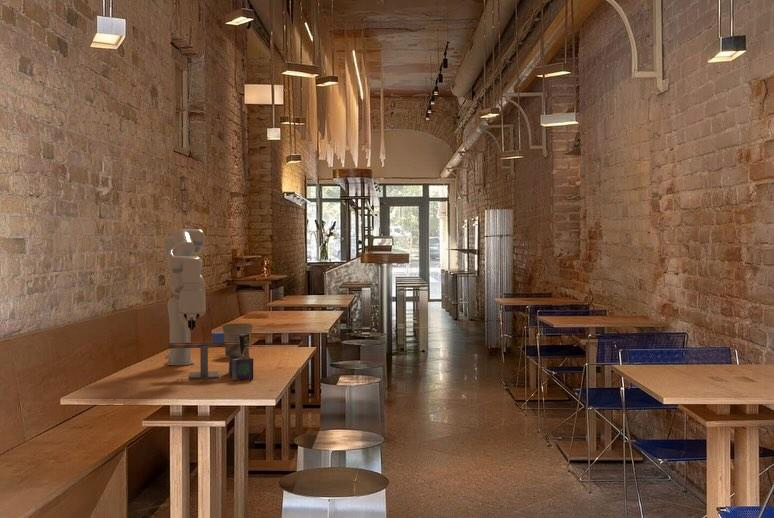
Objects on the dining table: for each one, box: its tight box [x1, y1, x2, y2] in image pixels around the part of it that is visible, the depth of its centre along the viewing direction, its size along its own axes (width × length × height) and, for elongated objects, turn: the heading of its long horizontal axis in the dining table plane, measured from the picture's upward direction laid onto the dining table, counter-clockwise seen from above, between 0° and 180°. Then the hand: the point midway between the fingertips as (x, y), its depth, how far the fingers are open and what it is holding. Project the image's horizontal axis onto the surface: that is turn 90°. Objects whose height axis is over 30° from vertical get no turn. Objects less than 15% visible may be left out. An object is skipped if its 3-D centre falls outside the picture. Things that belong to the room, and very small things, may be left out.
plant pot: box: [222, 323, 253, 343], centre depth 423 cm, size 15×15×16 cm
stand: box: [189, 346, 236, 381], centre depth 359 cm, size 20×14×14 cm
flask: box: [231, 354, 254, 382], centre depth 350 cm, size 9×3×11 cm, turn 121°
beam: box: [166, 341, 240, 357], centre depth 358 cm, size 30×8×6 cm, turn 103°
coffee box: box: [229, 334, 250, 359], centre depth 376 cm, size 9×6×16 cm
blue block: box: [211, 331, 225, 344], centre depth 359 cm, size 5×4×5 cm
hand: (191, 329), depth 358 cm, fingers closed
